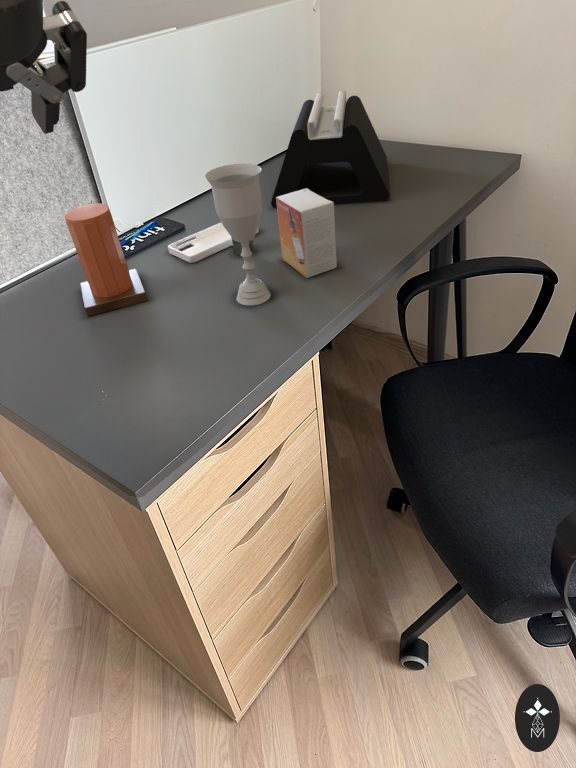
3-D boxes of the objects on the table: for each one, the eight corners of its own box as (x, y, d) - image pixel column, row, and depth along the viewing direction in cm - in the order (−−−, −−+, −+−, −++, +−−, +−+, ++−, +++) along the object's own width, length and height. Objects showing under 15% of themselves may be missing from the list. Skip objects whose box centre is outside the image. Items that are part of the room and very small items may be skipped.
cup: (93, 301, 84) (65, 224, 77) (90, 284, 89) (63, 209, 82) (135, 290, 86) (111, 213, 78) (129, 273, 90) (106, 199, 83)
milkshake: (225, 260, 94) (213, 201, 88) (235, 246, 98) (225, 188, 92) (251, 260, 93) (241, 200, 86) (260, 246, 97) (251, 188, 90)
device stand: (386, 162, 124) (386, 86, 115) (389, 200, 106) (389, 114, 97) (285, 169, 127) (277, 96, 118) (271, 208, 110) (261, 126, 101)
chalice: (221, 306, 82) (196, 181, 71) (238, 284, 87) (217, 163, 76) (269, 310, 80) (250, 181, 69) (284, 286, 85) (268, 163, 73)
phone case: (191, 264, 94) (260, 232, 101) (190, 256, 93) (259, 225, 100) (168, 253, 99) (235, 223, 106) (166, 245, 98) (234, 216, 105)
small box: (282, 260, 91) (274, 196, 85) (312, 250, 93) (306, 186, 87) (306, 279, 86) (299, 211, 79) (338, 268, 87) (334, 201, 81)
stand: (87, 317, 84) (60, 244, 77) (82, 291, 91) (57, 222, 83) (147, 300, 86) (126, 228, 79) (138, 276, 93) (118, 208, 85)
